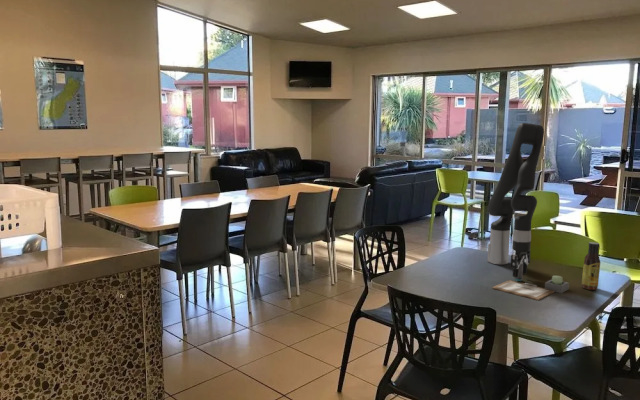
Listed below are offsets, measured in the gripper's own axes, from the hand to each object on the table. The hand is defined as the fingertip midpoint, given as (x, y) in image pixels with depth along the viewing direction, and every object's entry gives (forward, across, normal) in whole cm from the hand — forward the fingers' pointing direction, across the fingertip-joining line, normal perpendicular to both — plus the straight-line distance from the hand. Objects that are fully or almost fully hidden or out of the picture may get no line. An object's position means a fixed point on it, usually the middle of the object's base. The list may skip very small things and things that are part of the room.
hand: (519, 274), depth 232 cm
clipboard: (+3, +12, +7) cm, 15 cm away
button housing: (+3, 0, +16) cm, 17 cm away
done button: (+1, 0, +17) cm, 17 cm away
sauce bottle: (+3, -12, +26) cm, 28 cm away
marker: (+3, 0, 0) cm, 3 cm away
